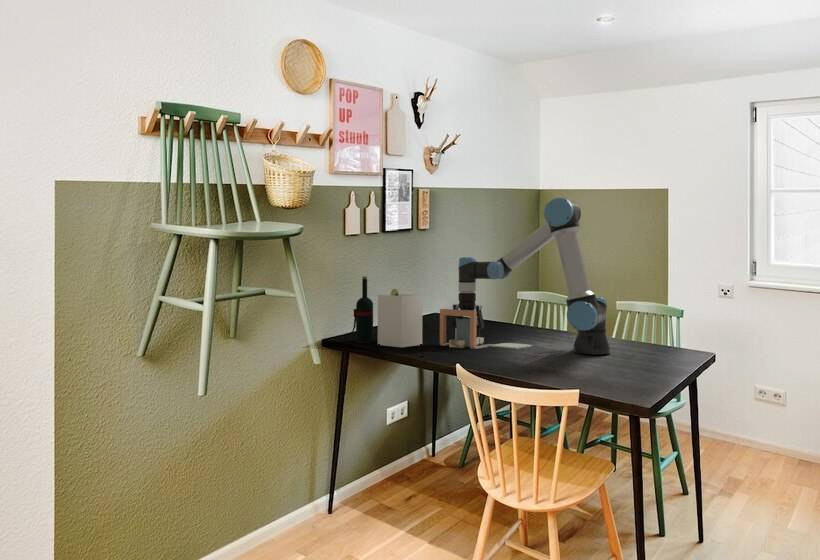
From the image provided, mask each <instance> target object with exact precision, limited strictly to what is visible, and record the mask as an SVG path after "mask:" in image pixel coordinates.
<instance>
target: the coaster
mask: <svg viewBox="0 0 820 560" xmlns="http://www.w3.org/2000/svg"><path fill="white" fill-rule="evenodd" d="M491 347H492V348H501V349H511V350H512V349H514V350H519V349H524V348H530V347H533V344H525V343H517V342H515V343H514V342H503V343H501V342H500V343H496V344H495V345H491V346H490V348H491Z"/></svg>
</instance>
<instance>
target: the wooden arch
mask: <svg viewBox="0 0 820 560" xmlns="http://www.w3.org/2000/svg"><path fill="white" fill-rule="evenodd" d="M447 316H450V317H452V316H457V317H458V316H463V317H465V318H470V347H476V327H477V311H476V310H474V311H471V310H460V309H459V310H453V308H452V309H449V308H440V309H439V345H440V344H446V343H447ZM470 347H469V348H470Z"/></svg>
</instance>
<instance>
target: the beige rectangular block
mask: <svg viewBox="0 0 820 560" xmlns="http://www.w3.org/2000/svg"><path fill="white" fill-rule="evenodd" d="M484 339H485V337H481V336H480V337H479V344H481V345H484V344H483V343H484V342H485V340H484ZM448 343H449V345H448V346H449V348H457V349H463V348H466V347H465V340H455V338H454V339H449V340H448ZM479 344H478V345H479Z"/></svg>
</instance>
